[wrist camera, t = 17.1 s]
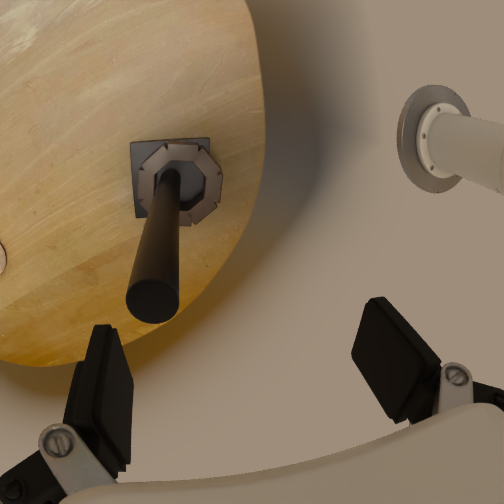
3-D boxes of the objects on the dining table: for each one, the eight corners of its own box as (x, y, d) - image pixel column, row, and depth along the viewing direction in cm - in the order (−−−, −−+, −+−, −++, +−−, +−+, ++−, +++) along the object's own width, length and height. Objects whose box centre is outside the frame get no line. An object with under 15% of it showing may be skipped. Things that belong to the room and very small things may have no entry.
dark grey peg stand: (208, 137, 34) (257, 196, 12) (209, 210, 38) (251, 364, 16) (131, 142, 32) (35, 213, 10) (137, 215, 36) (87, 373, 14)
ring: (223, 144, 33) (226, 147, 31) (214, 218, 37) (217, 228, 34) (143, 139, 31) (140, 142, 28) (140, 215, 35) (136, 224, 32)
